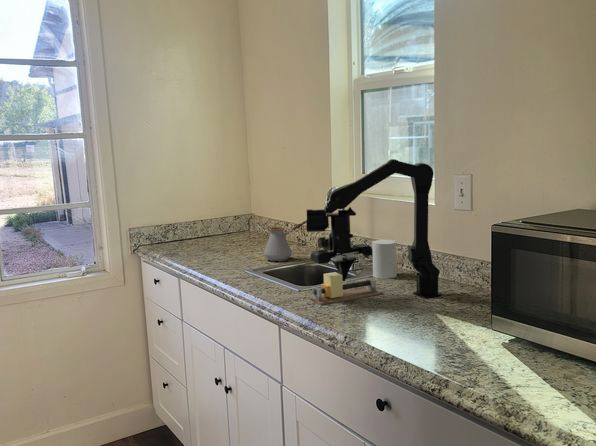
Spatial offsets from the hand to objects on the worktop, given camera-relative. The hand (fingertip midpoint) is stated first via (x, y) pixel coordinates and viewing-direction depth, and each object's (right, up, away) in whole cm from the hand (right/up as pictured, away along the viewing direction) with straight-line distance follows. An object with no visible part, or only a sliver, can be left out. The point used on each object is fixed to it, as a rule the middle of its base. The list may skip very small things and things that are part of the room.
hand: (343, 281), depth 174 cm
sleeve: (-3, -5, -1) cm, 6 cm away
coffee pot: (-18, +3, +60) cm, 63 cm away
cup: (+16, -1, +25) cm, 30 cm away
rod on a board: (+1, -5, +1) cm, 5 cm away
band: (-5, -4, -2) cm, 7 cm away
